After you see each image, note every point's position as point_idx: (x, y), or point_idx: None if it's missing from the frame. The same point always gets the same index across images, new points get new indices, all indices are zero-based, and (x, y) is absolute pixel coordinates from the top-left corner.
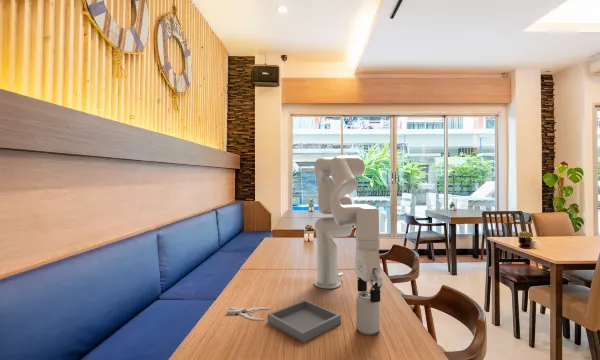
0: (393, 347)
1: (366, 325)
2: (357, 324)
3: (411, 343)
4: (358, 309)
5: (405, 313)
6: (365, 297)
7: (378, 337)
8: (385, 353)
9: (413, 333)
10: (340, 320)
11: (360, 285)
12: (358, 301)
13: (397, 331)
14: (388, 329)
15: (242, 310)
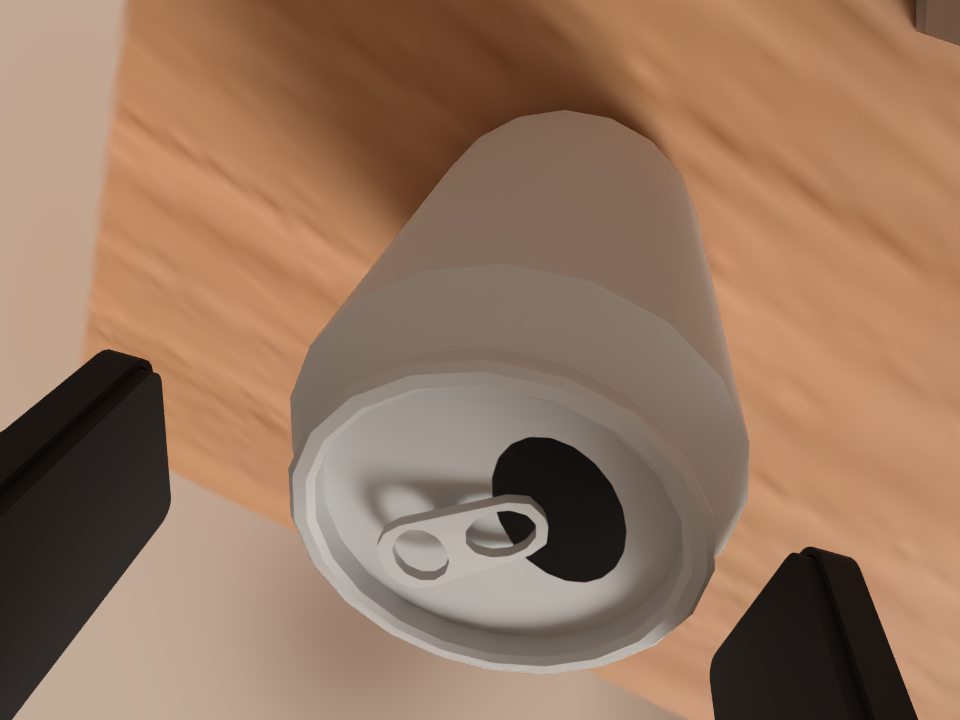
0: (206, 227)
1: (443, 179)
2: (592, 129)
3: (228, 387)
4: (536, 199)
5: (619, 667)
6: (454, 447)
7: (395, 231)
8: (131, 88)
9: None
10: (935, 26)
11: (808, 718)
12: (508, 262)
13: None
14: None
15: None
